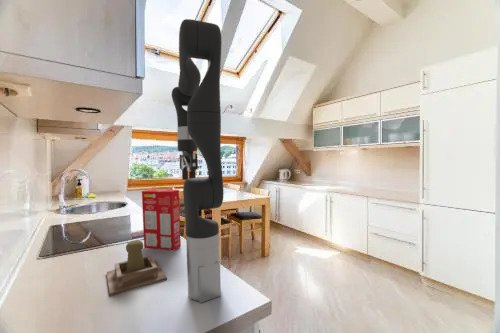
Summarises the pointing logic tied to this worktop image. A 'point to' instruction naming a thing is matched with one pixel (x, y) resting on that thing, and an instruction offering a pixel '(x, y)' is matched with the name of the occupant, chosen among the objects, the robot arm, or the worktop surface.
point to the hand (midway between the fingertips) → (188, 180)
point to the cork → (135, 256)
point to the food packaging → (161, 219)
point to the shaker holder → (134, 276)
